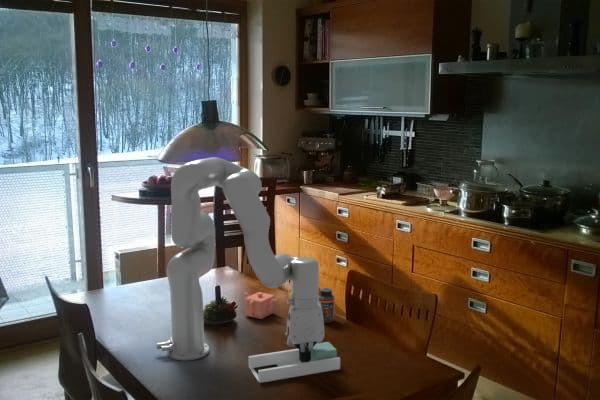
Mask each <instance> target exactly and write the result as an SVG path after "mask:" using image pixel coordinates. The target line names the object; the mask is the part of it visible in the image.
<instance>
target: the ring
mask: <svg viewBox="0 0 600 400" xmlns="http://www.w3.org/2000/svg"><path fill="white" fill-rule="evenodd" d="M287 294H288V300H290V299H291V296H292V287H291V288H290V289H289V290H288V293H287Z"/></svg>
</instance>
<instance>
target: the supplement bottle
mask: <svg viewBox="0 0 600 400" xmlns="http://www.w3.org/2000/svg"><path fill="white" fill-rule="evenodd" d="M319 293H320V294H318V304H319V305H321V307H322V312H323V320H324V324H328V323H329V324H330V323H332V322H334V320H335V296H334V295H333V289H331V288H328V287H322V288H320V290H319Z"/></svg>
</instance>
